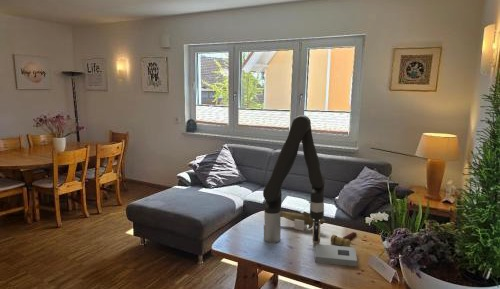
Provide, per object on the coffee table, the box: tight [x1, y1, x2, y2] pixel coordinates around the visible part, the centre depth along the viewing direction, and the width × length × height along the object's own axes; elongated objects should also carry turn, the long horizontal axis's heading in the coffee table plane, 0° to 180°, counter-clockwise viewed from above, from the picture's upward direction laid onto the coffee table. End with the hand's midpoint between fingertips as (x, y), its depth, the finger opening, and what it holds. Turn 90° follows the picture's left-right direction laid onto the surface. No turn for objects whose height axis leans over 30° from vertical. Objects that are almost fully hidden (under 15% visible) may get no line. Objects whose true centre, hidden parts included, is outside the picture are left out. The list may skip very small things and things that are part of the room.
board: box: [314, 243, 358, 267], centre depth 165 cm, size 20×14×3 cm
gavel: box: [330, 231, 357, 247], centre depth 185 cm, size 21×5×10 cm
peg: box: [311, 229, 321, 247], centre depth 178 cm, size 4×4×12 cm
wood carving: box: [280, 209, 326, 231], centre depth 203 cm, size 9×35×11 cm, turn 61°
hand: (316, 238), depth 179 cm, fingers closed on peg, 4 cm apart
